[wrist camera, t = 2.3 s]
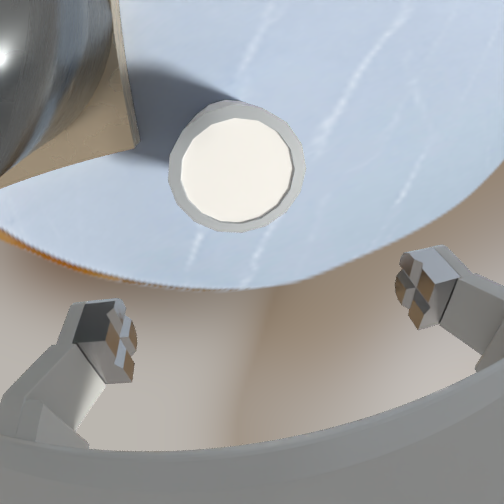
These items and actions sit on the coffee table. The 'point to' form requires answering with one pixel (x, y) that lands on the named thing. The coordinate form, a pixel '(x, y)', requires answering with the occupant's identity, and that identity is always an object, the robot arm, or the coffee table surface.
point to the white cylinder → (236, 167)
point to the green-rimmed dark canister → (61, 86)
